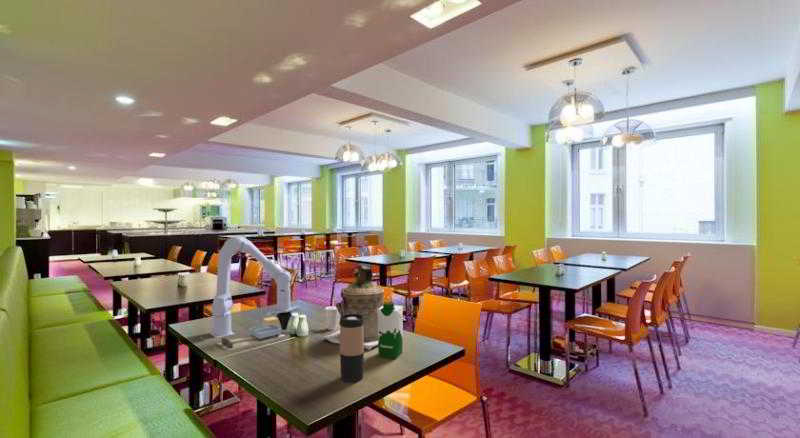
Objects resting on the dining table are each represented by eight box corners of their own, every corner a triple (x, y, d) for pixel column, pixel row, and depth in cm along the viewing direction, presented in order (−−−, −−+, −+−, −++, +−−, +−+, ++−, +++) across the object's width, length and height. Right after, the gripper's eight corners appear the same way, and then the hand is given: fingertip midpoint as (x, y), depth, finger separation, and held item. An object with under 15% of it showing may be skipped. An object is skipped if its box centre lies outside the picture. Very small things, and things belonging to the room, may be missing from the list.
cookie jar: (401, 334, 173) (400, 262, 172) (370, 352, 151) (370, 269, 151) (355, 326, 185) (354, 258, 184) (320, 341, 163) (320, 265, 163)
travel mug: (340, 373, 131) (340, 314, 131) (363, 372, 132) (363, 313, 131) (339, 383, 124) (338, 320, 123) (363, 382, 124) (363, 319, 124)
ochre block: (263, 329, 181) (263, 318, 181) (273, 327, 184) (273, 316, 184) (267, 331, 177) (267, 320, 177) (278, 329, 181) (278, 318, 181)
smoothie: (336, 331, 177) (336, 300, 177) (323, 330, 179) (322, 299, 178) (341, 327, 184) (341, 297, 183) (328, 326, 185) (328, 296, 185)
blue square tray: (249, 336, 169) (249, 328, 169) (271, 331, 176) (271, 323, 176) (258, 341, 162) (258, 333, 162) (281, 336, 169) (281, 328, 168)
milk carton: (375, 357, 146) (375, 303, 145) (384, 349, 154) (384, 298, 154) (397, 360, 143) (397, 305, 142) (405, 351, 151) (405, 300, 151)
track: (216, 343, 161) (216, 337, 161) (274, 330, 178) (274, 325, 178) (227, 351, 152) (227, 345, 152) (287, 337, 169) (287, 332, 169)
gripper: (272, 303, 167) (272, 334, 167) (303, 297, 176) (303, 327, 177) (265, 300, 172) (265, 331, 172) (295, 295, 182) (295, 324, 182)
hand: (284, 329), depth 175 cm, fingers closed
